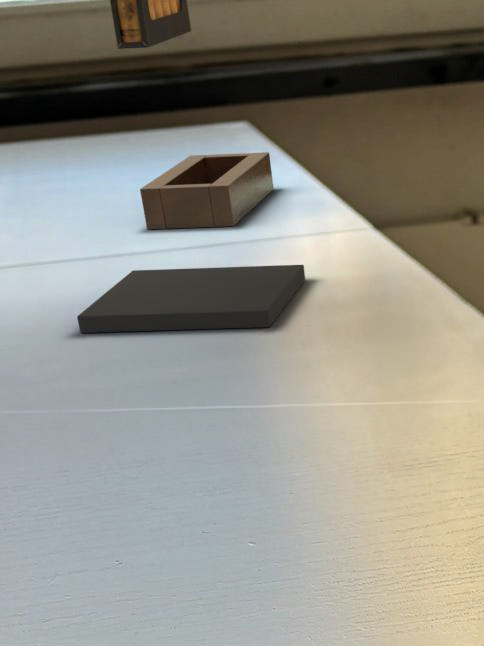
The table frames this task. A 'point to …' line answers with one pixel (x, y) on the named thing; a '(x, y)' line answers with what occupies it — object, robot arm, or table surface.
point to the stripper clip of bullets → (148, 21)
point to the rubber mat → (194, 299)
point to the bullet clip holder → (207, 191)
